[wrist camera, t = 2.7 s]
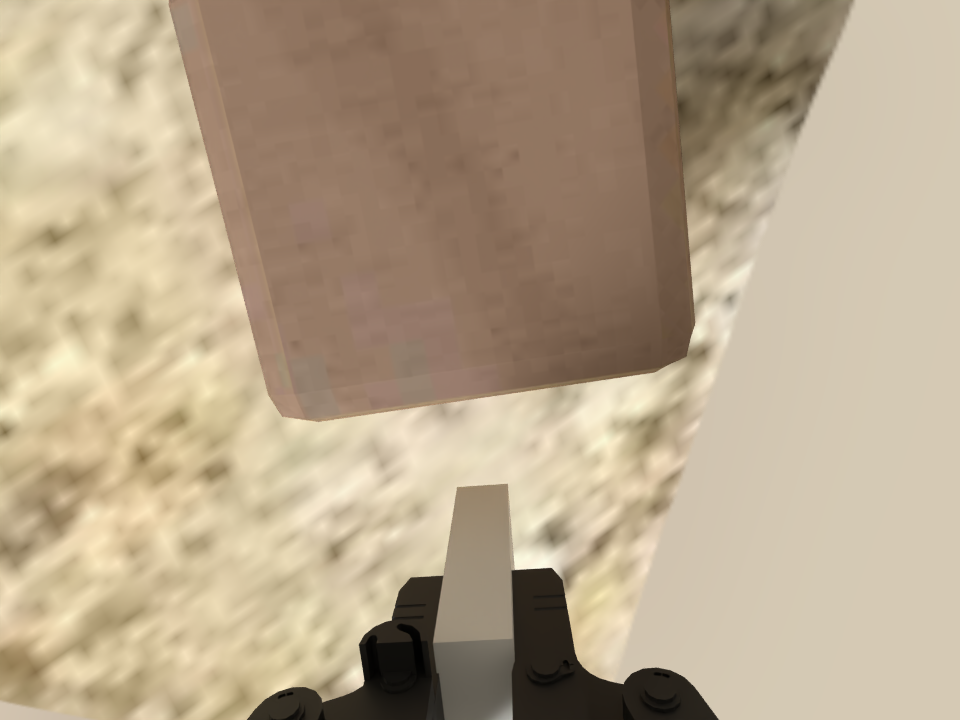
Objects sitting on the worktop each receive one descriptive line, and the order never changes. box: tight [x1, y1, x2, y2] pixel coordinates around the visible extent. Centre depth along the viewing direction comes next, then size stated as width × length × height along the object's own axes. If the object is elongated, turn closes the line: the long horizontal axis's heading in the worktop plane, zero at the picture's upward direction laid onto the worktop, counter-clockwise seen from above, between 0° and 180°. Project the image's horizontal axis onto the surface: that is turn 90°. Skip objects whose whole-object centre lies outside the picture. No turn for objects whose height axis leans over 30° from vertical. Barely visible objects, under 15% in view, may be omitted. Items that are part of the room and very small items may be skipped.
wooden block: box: [169, 0, 695, 422], centre depth 21 cm, size 10×10×20 cm
